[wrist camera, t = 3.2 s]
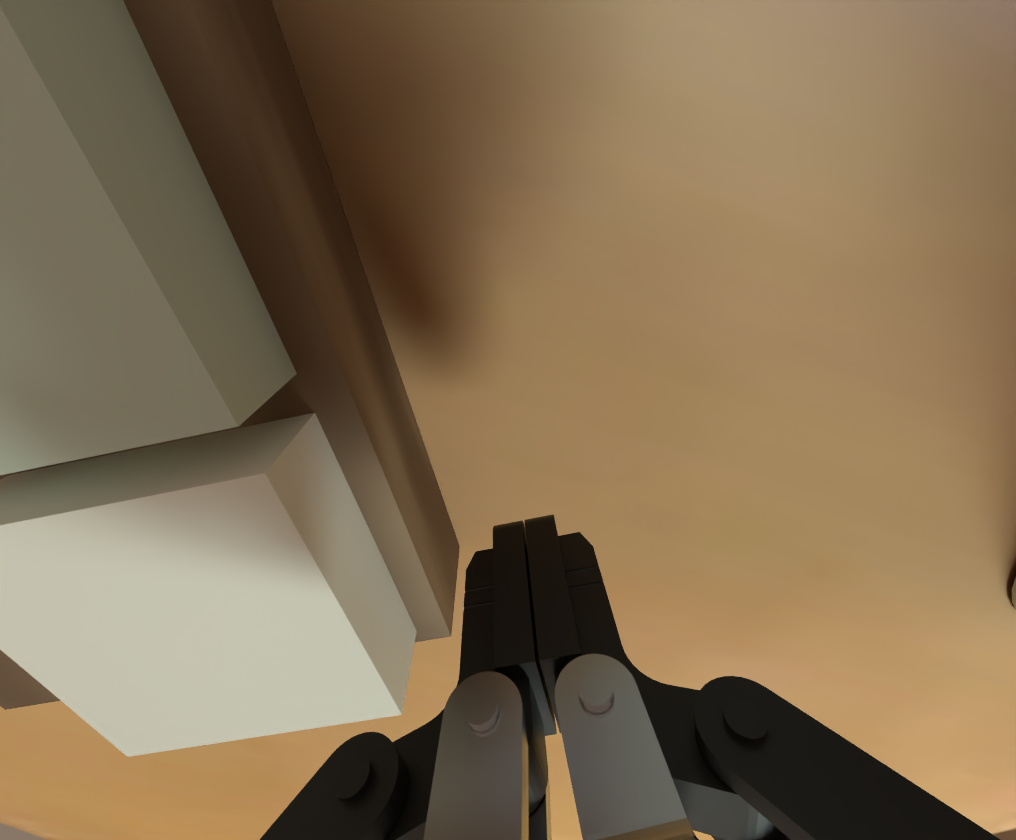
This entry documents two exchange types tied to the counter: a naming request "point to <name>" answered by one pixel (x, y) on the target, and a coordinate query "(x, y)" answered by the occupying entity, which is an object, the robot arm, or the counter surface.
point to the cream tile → (202, 590)
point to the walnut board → (297, 288)
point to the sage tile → (112, 253)
